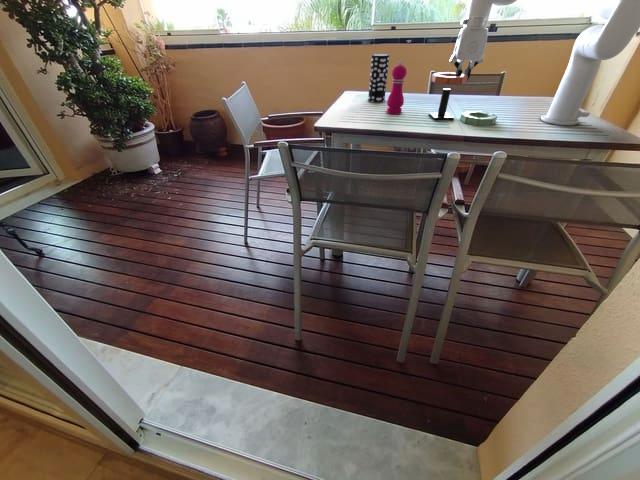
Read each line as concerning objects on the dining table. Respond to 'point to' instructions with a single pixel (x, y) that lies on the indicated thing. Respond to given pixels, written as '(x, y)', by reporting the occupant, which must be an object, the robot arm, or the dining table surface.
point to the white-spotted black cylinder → (378, 77)
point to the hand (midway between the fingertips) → (461, 80)
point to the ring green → (478, 118)
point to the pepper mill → (396, 89)
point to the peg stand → (443, 107)
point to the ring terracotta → (449, 78)
